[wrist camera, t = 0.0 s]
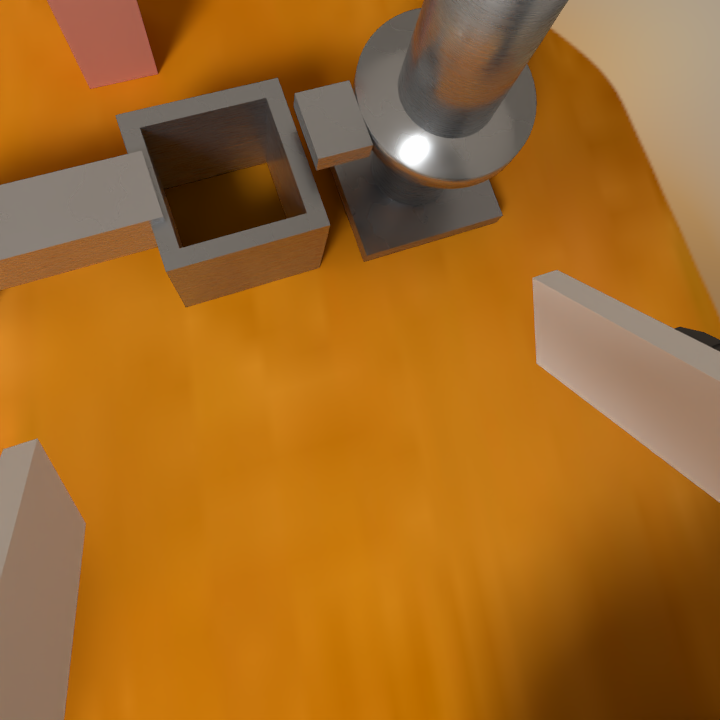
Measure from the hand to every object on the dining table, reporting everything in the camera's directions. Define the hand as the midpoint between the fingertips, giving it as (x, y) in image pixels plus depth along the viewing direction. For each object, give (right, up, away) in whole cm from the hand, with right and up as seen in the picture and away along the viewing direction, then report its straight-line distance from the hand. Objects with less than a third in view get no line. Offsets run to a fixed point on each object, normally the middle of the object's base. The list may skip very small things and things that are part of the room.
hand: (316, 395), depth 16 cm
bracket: (-11, +6, +15) cm, 20 cm away
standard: (+3, +11, +18) cm, 21 cm away
